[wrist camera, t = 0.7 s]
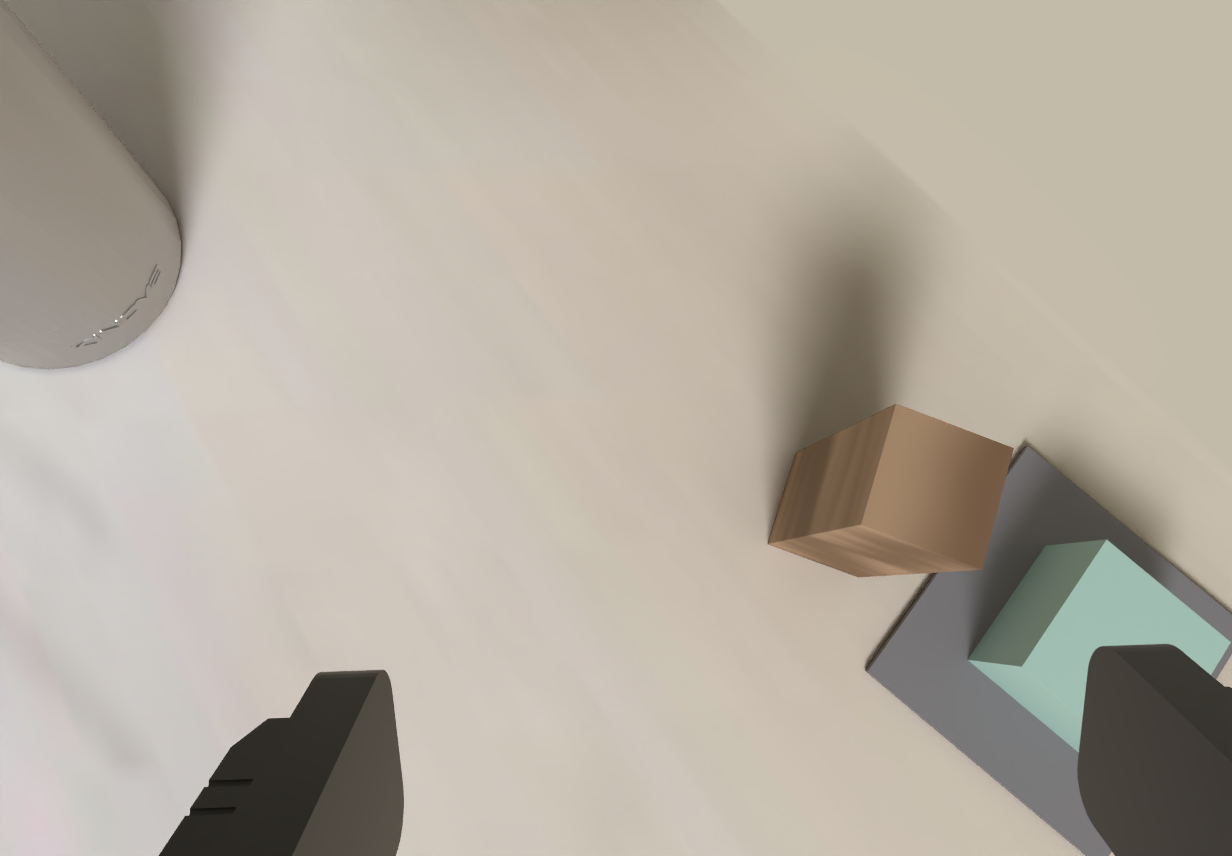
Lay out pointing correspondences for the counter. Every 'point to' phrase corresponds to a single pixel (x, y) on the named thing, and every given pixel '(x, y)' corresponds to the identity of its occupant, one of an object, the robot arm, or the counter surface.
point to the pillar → (894, 497)
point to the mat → (968, 605)
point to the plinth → (1082, 629)
